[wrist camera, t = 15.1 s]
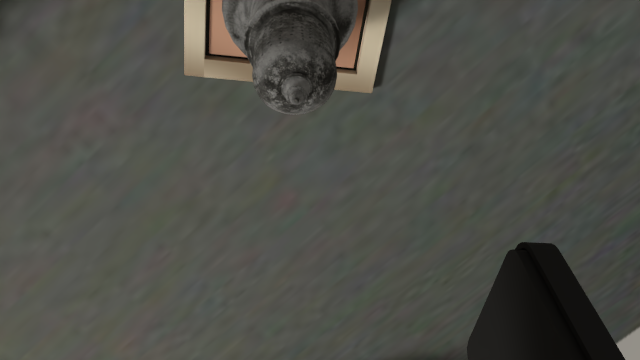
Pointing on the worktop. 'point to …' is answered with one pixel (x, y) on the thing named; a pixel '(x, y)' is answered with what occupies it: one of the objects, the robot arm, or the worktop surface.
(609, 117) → the worktop surface
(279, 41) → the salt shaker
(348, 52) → the game track
